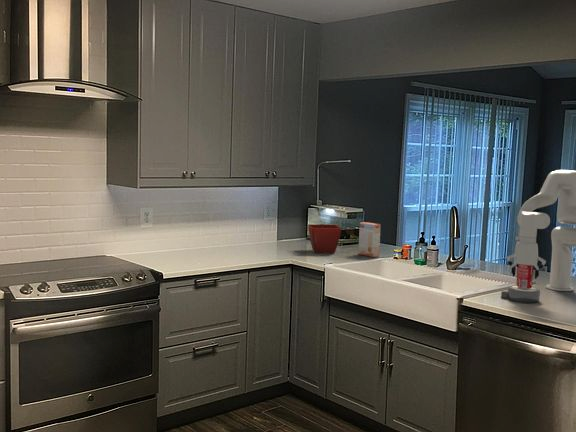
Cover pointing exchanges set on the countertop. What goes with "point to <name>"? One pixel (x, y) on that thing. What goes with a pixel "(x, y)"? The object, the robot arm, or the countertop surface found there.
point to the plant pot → (324, 238)
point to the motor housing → (521, 295)
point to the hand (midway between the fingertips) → (524, 276)
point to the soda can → (524, 276)
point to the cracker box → (369, 239)
